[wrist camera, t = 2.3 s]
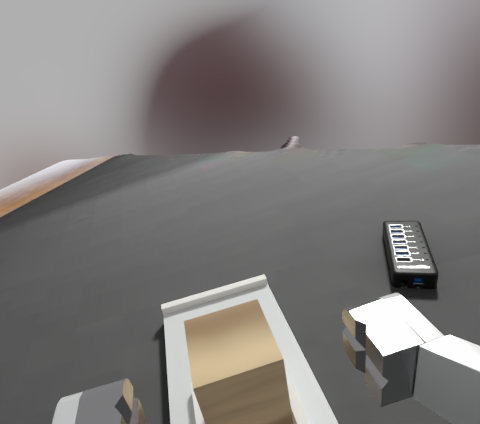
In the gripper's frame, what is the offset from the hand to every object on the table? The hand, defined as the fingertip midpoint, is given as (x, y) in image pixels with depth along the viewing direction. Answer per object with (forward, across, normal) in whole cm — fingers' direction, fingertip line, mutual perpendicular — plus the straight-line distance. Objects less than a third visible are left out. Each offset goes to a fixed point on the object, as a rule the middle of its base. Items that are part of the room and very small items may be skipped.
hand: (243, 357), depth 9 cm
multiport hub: (+23, -23, +20) cm, 39 cm away
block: (+9, 0, +18) cm, 20 cm away
